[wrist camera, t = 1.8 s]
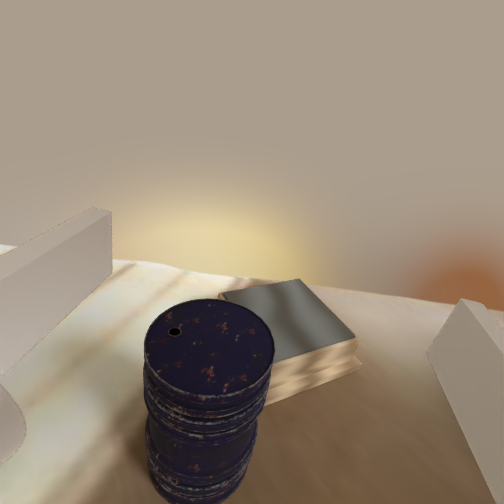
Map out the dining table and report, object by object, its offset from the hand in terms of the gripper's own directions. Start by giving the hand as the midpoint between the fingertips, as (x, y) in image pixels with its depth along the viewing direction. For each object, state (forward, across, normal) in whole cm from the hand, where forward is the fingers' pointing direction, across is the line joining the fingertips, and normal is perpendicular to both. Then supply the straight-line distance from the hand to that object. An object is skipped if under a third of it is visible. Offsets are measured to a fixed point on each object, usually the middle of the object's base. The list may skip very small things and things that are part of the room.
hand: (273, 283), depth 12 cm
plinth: (+24, +4, -25) cm, 35 cm away
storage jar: (+8, -2, -26) cm, 27 cm away
